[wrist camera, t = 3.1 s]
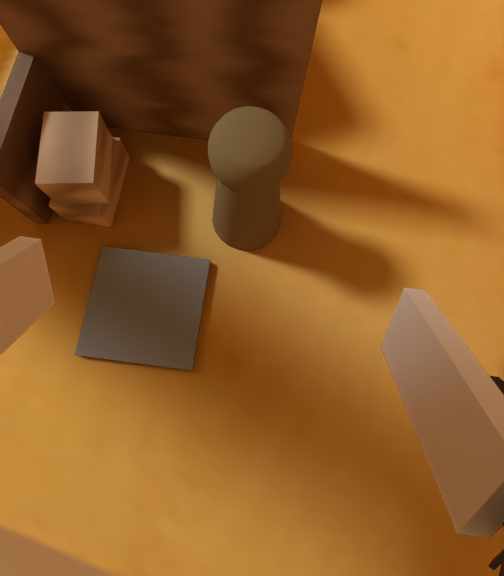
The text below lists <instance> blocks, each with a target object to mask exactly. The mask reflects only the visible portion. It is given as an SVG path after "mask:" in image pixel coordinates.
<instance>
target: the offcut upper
mask: <svg viewBox="0 0 504 576" xmlns="http://www.w3.org/2000/svg"><path fill="white" fill-rule="evenodd" d="M112 146H113V137H112V136H111V134H110V132H109V130H108V128H107V126H106V124H105V122H104V120H103V119H102V117H101V115H100V113H99V111H83V112H44V115H43V123H42V131H41V139H40V147H39V155H38V163H37V171H36V179H35V184H36V185H37V186H38V187H39V188H40V189H41V190H42V191H43V192H44V193H45V194H46V195H48V196H49V197H50V198H51V199H52V200H53V201H54V202H55V203H56V204H103V203H109V193H110V178H111V162H112Z"/></svg>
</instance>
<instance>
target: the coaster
mask: <svg viewBox="0 0 504 576" xmlns="http://www.w3.org/2000/svg"><path fill="white" fill-rule="evenodd" d="M210 263H211V262H210V260H206V259H198V258H191V257H183V256H176V255H168V254H161V253H153V252H146V251H138V250H131V249H123V248H116V247H108V246H102V250H101V254H100V258H99V262H98V266H97V270H96V274H95V278H94V282H93V286H92V290H91V293H90V297H89V301H88V305H87V309H86V313H85V317H84V321H83V325H82V329H81V333H80V337H79V341H78V345H77V349H76V353H75V355H78V356H86V357H94V358H101V359H109V360H116V361H124V362H132V363H139V364H147V365H154V366H162V367H170V368H177V369H185V370H193V365H194V359H195V353H196V347H197V341H198V335H199V329H200V323H201V317H202V311H203V305H204V299H205V293H206V287H207V281H208V275H209V269H210Z"/></svg>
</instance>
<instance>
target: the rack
mask: <svg viewBox="0 0 504 576" xmlns="http://www.w3.org/2000/svg"><path fill="white" fill-rule="evenodd" d="M321 4H322V0H0V25H1V26H2V28H3V29H4V30H5V32H6V33H7V35H8V36H9V38H10V39H11V41H12V42H13V44H14V45H15V47H16V48H17V49H18V51H19V52H18V55H17V57H16V60H15V63H14V65H13V68H12V71H11V73H10V76H9V78H8V81H7V84H6V86H5V89H4V92H3V94H2V97H1V100H0V197H1V198H2V199H4V200H5V201H6V202H8V203H9V204H11V205H12V206H13V207H15V208H16V209H17V210H19V211H20V212H21V213H23V214H24V215H25V216H27V217H28V218H29V219H31V220H32V221H34V222H38V223H45V224H48V223H49V219H50V216H51V213H52V210H53V209H51V208H50V207H49V203H50V200H51V198H50V197H49V196H48V195H46V194H45V193H44V192H43V191H42V190H41V189H40V188H39V187H38V186H37V185H36V184H35V179H36V171H37V163H38V155H39V147H40V139H41V131H42V123H43V115H44V112H83V111H99V113H100V115H101V117H102V119H103V120H104V122H105V124H106V126H110V127H117V128H125V129H132V130H139V131H147V132H154V133H162V134H169V135H176V136H184V137H191V138H199V139H206V140H209V136H210V134H211V132H212V129H213V127H214V125H215V124H216V123H217V122H218V121H219V120H220V119H221V118H222V117H223V116H224V115H225V114H226V113H228V112H230V111H232V110H233V109H236V108H240V107H245V106H251V107H259V108H263V109H266V110H268V111H270V112H271V113H273V114H274V115H276V116H277V117H278V118H279V119H280V120H281V121H282V123H283V124H284V125H285V126H286V128H287V129H288V132H289V135H290V137H291V138H292V133H293V129H294V124H295V120H296V115H297V111H298V106H299V102H300V97H301V93H302V89H303V84H304V80H305V75H306V71H307V66H308V62H309V57H310V53H311V48H312V44H313V39H314V35H315V31H316V26H317V22H318V17H319V13H320V8H321Z"/></svg>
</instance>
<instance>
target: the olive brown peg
mask: <svg viewBox="0 0 504 576" xmlns="http://www.w3.org/2000/svg"><path fill="white" fill-rule="evenodd" d="M208 158H209V162H210V165H211V168H212V171H213V172H214V174H215V175H216V177H217V184H216V192H215V200H214V208H213V221H212V222H213V225H214V229H215V232H216V233H217V235H218V236H219V237H220V239H221V240H222V241H223V242H225V243H226V244H227V245H229V246H231V247H233V248H236V249H239V250H254V249H258V248H261V247H263V246H265V245H266V244H268V243H269V242H271V240H272V239H273V238H274V237H275V236H276V234H277V232H278V229H279V227H280V181H281V179H282V178H283V177H284V176H285V174H286V173H287V170H288V168H289V165H290V162H291V159H292V141H291V137H290V135H289V132H288V129H287V128H286V126H285V125H284V124H283V123H282V121H281V120H280V119H279V118H278V117H277V116H276V115H274V114H273V113H271V112H270V111H268V110H266V109H263V108H259V107H251V106H245V107H240V108H236V109H233V110H232V111H230V112H228V113H226V114H225V115H224V116H223V117H222V118H221V119H220V120H219V121H218V122H217V123H216V124H215V125H214V127H213V129H212V132H211V134H210V136H209V141H208Z"/></svg>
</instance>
